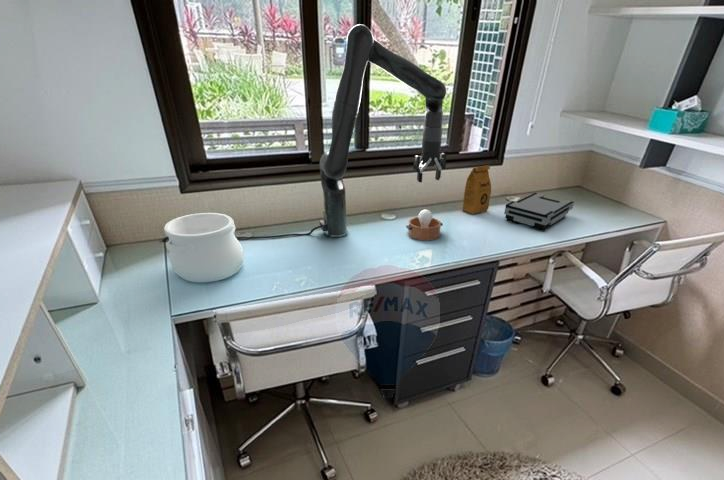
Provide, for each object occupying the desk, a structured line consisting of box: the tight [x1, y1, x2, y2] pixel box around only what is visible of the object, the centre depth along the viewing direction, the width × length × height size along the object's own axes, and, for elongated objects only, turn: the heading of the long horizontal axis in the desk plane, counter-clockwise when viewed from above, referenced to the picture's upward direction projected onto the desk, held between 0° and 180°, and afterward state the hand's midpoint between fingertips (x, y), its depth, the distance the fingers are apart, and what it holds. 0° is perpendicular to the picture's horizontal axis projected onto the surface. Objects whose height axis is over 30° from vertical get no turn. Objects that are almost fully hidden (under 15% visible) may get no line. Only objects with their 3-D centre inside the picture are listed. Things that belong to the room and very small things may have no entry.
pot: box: [163, 212, 245, 283], centre depth 143 cm, size 26×24×18 cm
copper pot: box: [405, 216, 444, 241], centre depth 179 cm, size 16×14×6 cm
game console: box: [503, 192, 575, 232], centre depth 197 cm, size 21×32×8 cm, turn 138°
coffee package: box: [461, 164, 492, 215], centre depth 200 cm, size 10×12×22 cm
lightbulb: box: [417, 209, 433, 228], centre depth 177 cm, size 6×6×11 cm
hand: (428, 180), depth 170 cm, fingers open, 8 cm apart
